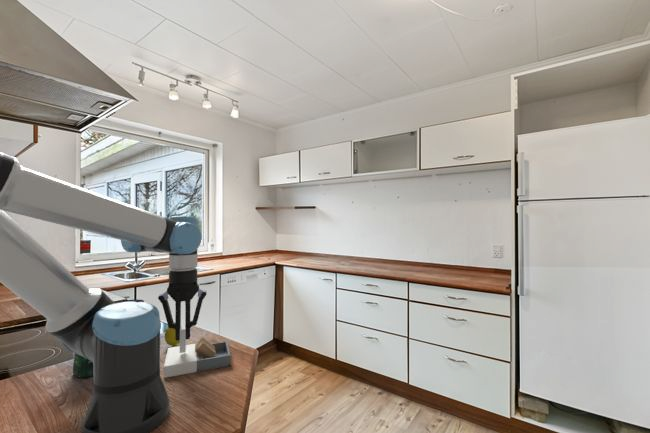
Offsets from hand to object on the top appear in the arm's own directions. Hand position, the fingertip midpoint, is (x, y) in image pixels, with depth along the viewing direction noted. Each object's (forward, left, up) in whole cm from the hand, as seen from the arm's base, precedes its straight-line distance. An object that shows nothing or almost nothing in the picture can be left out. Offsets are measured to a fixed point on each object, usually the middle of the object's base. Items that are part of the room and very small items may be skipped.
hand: (182, 350), depth 88 cm
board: (0, 0, -4) cm, 4 cm away
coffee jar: (+6, +22, -4) cm, 24 cm away
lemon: (+15, +3, -4) cm, 16 cm away
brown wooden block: (0, -5, -2) cm, 5 cm away
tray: (-1, -8, -4) cm, 9 cm away
